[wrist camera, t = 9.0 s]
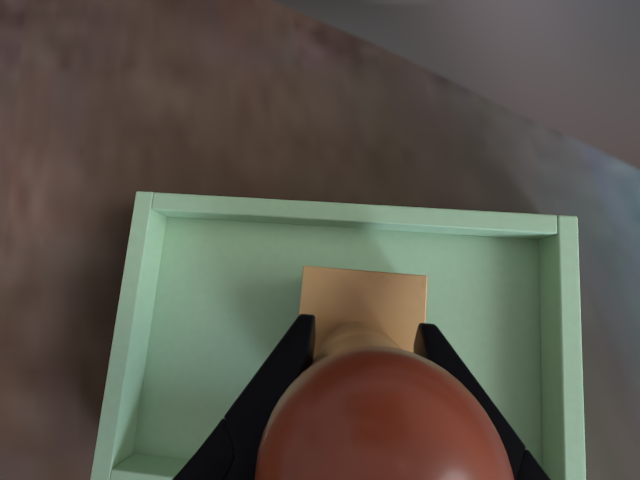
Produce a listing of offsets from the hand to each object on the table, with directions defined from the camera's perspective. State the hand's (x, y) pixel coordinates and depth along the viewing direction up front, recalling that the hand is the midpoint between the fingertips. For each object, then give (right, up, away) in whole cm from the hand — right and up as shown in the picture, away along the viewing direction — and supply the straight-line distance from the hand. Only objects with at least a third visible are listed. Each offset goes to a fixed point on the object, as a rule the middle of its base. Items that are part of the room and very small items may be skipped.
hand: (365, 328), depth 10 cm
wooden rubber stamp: (0, -2, +6) cm, 6 cm away
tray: (0, -2, +7) cm, 7 cm away
